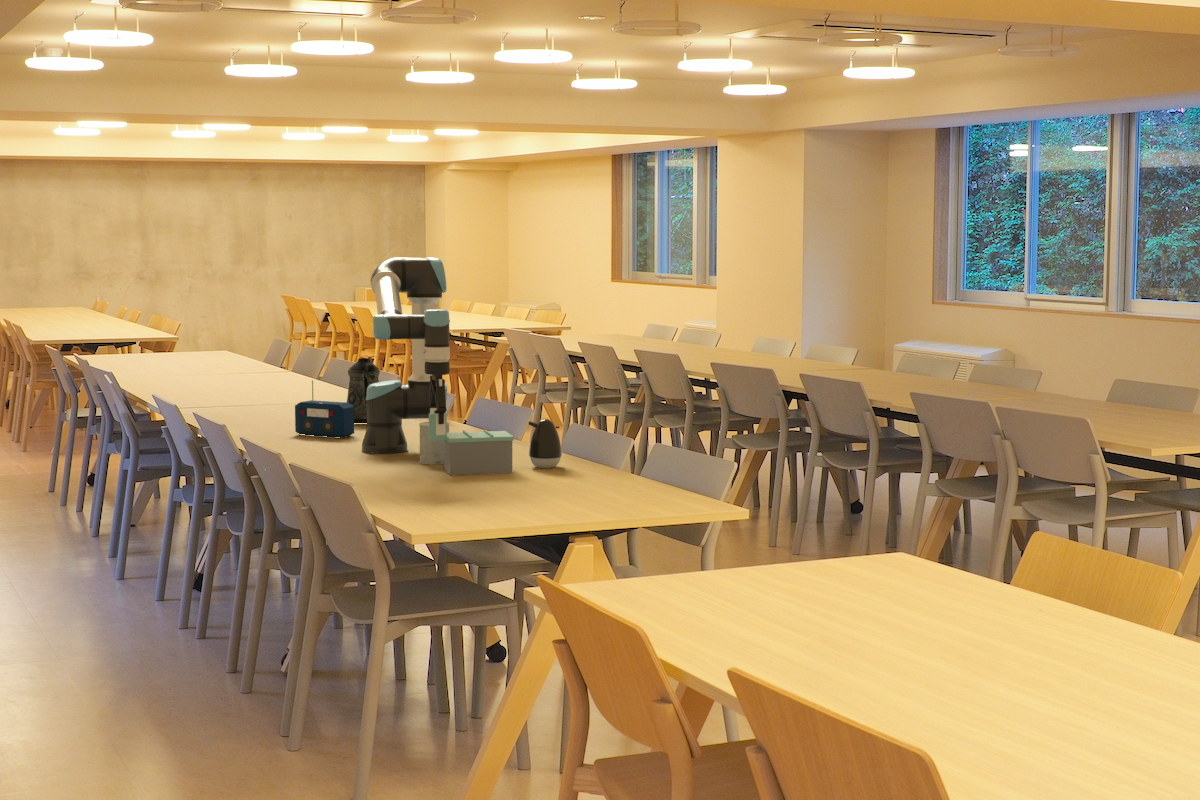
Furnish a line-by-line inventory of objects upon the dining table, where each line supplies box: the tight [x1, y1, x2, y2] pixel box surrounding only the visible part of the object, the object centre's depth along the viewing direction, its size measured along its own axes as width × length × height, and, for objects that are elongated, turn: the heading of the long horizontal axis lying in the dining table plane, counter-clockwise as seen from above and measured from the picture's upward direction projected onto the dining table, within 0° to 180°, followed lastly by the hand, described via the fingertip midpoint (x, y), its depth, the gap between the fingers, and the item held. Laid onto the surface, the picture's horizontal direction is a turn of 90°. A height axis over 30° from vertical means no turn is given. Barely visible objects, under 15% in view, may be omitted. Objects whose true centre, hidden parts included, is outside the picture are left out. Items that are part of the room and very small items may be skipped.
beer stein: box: [346, 357, 381, 423], centre depth 501 cm, size 16×19×25 cm
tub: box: [443, 440, 513, 476], centre depth 393 cm, size 12×19×10 cm, turn 105°
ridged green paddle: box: [428, 412, 515, 443], centre depth 391 cm, size 13×25×8 cm, turn 105°
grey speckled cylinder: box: [418, 421, 450, 465], centre depth 409 cm, size 10×10×12 cm
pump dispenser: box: [527, 418, 563, 469], centre depth 400 cm, size 10×10×15 cm
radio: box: [294, 380, 355, 439], centre depth 465 cm, size 21×9×20 cm, turn 67°
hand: (437, 432), depth 389 cm, fingers open, 12 cm apart
